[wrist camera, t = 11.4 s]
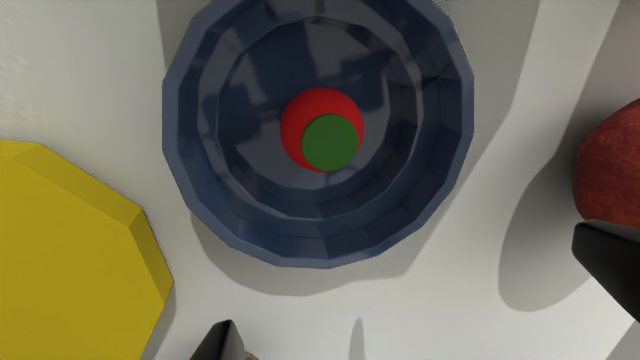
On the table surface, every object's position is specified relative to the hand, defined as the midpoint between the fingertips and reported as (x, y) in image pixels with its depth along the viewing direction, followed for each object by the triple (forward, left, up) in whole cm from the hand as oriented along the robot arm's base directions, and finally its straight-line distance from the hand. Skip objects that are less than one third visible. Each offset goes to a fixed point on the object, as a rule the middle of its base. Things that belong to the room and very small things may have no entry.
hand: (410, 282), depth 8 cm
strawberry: (+2, +1, -11) cm, 11 cm away
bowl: (+2, +1, -11) cm, 11 cm away
